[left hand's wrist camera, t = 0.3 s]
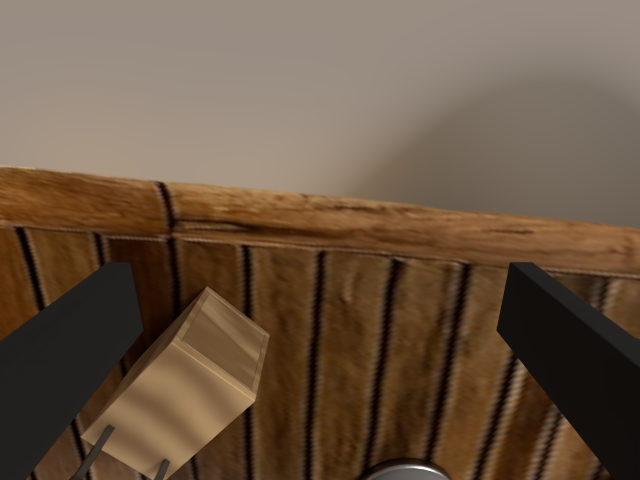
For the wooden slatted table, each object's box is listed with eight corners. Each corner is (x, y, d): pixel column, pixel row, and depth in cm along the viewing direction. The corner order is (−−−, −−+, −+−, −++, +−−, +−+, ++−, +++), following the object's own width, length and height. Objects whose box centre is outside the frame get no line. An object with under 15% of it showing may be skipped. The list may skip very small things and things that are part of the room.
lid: (163, 476, 40) (125, 567, 32) (85, 430, 38) (22, 515, 30) (256, 394, 36) (238, 475, 28) (175, 336, 34) (130, 406, 26)
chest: (197, 402, 49) (168, 472, 40) (136, 361, 47) (89, 425, 37) (270, 334, 45) (256, 394, 36) (207, 285, 43) (175, 336, 34)
